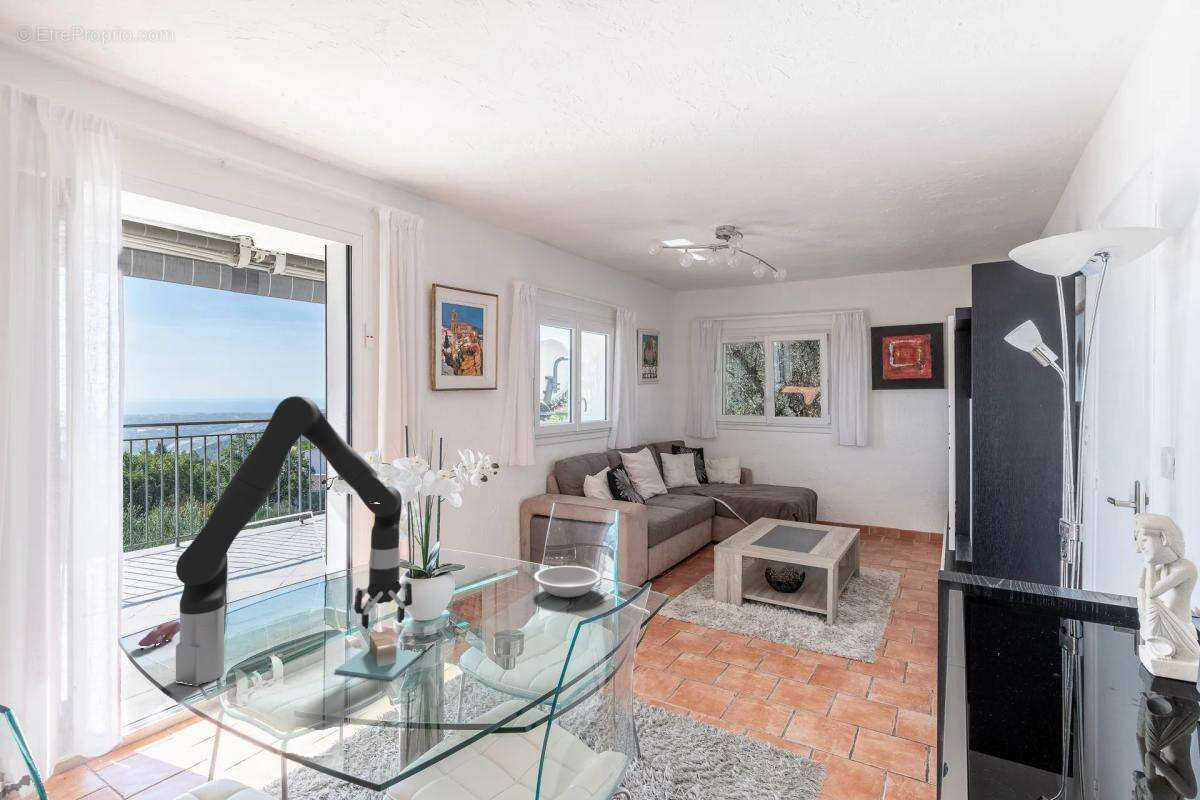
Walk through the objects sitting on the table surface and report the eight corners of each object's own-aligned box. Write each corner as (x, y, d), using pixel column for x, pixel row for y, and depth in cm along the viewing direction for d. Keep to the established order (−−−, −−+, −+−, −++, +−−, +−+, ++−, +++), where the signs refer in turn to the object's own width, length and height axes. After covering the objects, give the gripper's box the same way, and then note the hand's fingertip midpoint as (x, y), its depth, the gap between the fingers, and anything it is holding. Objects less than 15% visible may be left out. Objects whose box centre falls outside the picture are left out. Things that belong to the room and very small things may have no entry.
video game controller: (147, 656, 163) (157, 634, 163) (134, 647, 164) (144, 626, 163) (178, 641, 173) (188, 621, 172) (166, 633, 174) (176, 612, 173)
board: (392, 680, 149) (392, 677, 149) (335, 672, 152) (335, 669, 152) (435, 643, 171) (435, 641, 171) (384, 637, 174) (384, 635, 174)
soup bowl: (578, 611, 198) (578, 591, 198) (519, 597, 210) (520, 578, 209) (613, 590, 218) (613, 572, 218) (558, 579, 230) (558, 562, 230)
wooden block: (386, 647, 166) (396, 662, 157) (369, 650, 164) (378, 666, 154) (386, 630, 166) (396, 645, 157) (369, 634, 164) (378, 649, 154)
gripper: (358, 571, 152) (357, 635, 152) (415, 563, 160) (414, 624, 160) (353, 563, 158) (351, 624, 159) (408, 556, 166) (406, 615, 166)
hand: (383, 624), depth 159 cm, fingers open, 8 cm apart
